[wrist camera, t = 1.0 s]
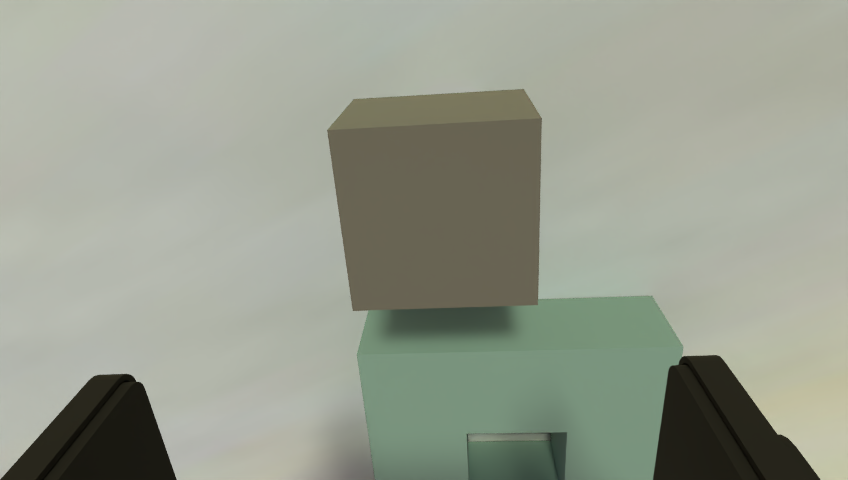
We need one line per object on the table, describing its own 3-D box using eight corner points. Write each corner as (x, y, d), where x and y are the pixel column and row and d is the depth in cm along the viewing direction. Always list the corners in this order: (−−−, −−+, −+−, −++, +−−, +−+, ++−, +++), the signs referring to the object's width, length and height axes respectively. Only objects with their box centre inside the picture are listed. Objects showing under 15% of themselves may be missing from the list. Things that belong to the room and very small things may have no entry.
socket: (652, 296, 29) (683, 346, 25) (627, 499, 36) (649, 565, 32) (370, 304, 31) (357, 354, 27) (394, 500, 37) (387, 564, 33)
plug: (513, 73, 25) (541, 118, 17) (513, 210, 28) (537, 305, 20) (368, 82, 26) (327, 130, 17) (382, 215, 28) (353, 310, 20)
